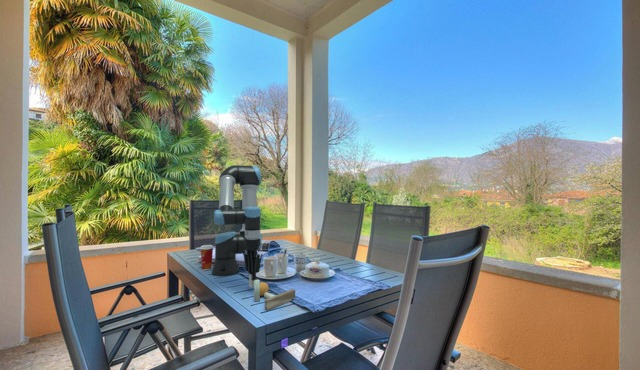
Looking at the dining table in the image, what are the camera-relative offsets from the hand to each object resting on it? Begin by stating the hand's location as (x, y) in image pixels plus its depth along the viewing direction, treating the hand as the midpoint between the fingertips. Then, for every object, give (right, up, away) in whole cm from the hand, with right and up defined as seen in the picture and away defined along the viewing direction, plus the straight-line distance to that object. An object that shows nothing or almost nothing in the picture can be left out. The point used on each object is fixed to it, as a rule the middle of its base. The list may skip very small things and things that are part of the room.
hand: (252, 286), depth 138 cm
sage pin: (+5, -2, -13) cm, 14 cm away
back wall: (+16, -2, -16) cm, 23 cm away
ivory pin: (+8, -1, -9) cm, 12 cm away
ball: (+6, +1, -6) cm, 9 cm away
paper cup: (-37, -2, +37) cm, 52 cm away
